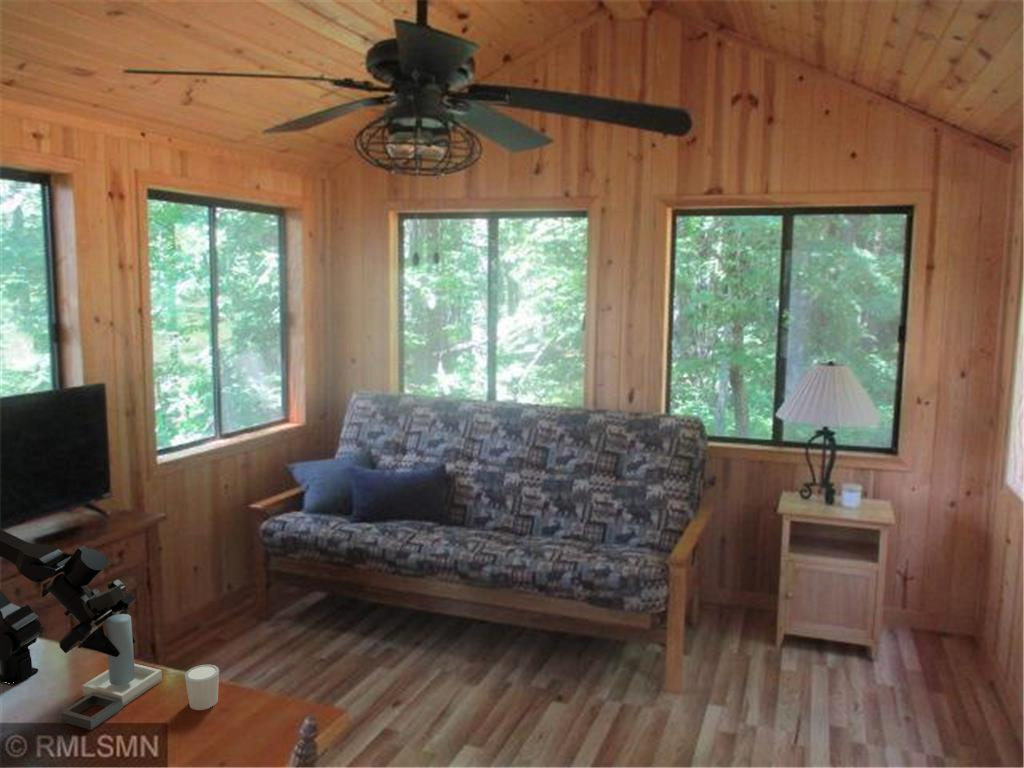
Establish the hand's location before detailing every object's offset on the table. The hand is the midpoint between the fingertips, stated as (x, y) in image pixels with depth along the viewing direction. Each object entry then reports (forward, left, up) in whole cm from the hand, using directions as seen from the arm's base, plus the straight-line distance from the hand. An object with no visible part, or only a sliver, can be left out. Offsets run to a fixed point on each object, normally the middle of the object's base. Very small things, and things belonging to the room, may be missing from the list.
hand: (125, 649), depth 173 cm
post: (-1, 0, -7) cm, 7 cm away
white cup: (+19, +2, -9) cm, 21 cm away
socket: (+1, -10, -9) cm, 14 cm away
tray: (-1, 0, -9) cm, 9 cm away
